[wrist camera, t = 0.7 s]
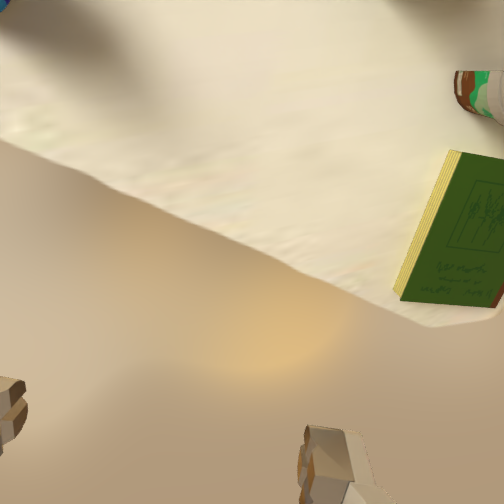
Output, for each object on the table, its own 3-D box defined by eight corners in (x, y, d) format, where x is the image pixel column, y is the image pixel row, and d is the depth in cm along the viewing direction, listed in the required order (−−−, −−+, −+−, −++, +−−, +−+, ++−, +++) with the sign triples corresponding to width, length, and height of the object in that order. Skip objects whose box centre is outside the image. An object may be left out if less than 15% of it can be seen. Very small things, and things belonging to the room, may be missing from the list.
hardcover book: (480, 296, 67) (495, 308, 64) (389, 288, 63) (400, 300, 60) (551, 161, 57) (574, 167, 53) (448, 141, 53) (465, 146, 49)
